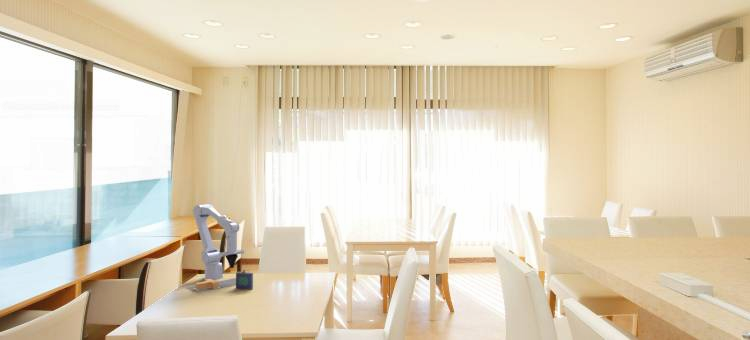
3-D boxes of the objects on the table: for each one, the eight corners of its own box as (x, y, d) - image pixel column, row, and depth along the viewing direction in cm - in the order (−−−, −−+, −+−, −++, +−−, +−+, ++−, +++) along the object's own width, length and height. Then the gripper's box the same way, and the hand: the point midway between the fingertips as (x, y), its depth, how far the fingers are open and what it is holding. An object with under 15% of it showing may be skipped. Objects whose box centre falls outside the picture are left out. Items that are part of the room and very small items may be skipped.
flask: (253, 288, 247) (253, 268, 247) (251, 290, 244) (251, 270, 244) (236, 288, 248) (236, 268, 247) (234, 289, 245) (234, 269, 245)
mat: (237, 278, 268) (237, 277, 268) (250, 282, 259) (250, 282, 259) (185, 288, 246) (185, 287, 246) (196, 293, 236) (196, 293, 236)
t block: (209, 284, 254) (209, 278, 254) (218, 287, 247) (218, 282, 247) (192, 287, 247) (192, 282, 247) (200, 291, 240) (200, 285, 240)
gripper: (223, 246, 251) (223, 271, 251) (246, 243, 261) (246, 266, 262) (217, 244, 256) (217, 268, 256) (240, 241, 266) (240, 264, 266)
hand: (231, 267), depth 259 cm, fingers closed
